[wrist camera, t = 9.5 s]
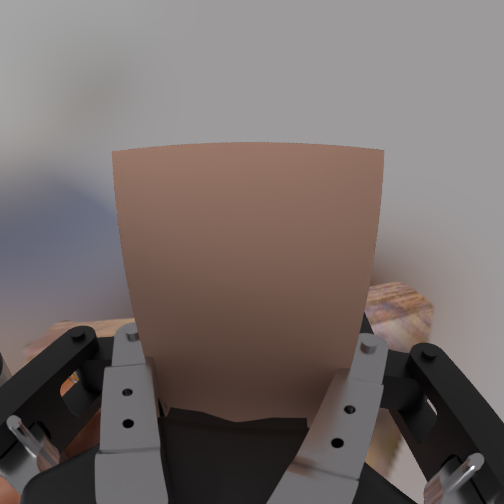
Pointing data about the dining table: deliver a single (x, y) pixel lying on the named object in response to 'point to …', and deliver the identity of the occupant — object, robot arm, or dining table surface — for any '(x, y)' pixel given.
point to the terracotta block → (248, 269)
